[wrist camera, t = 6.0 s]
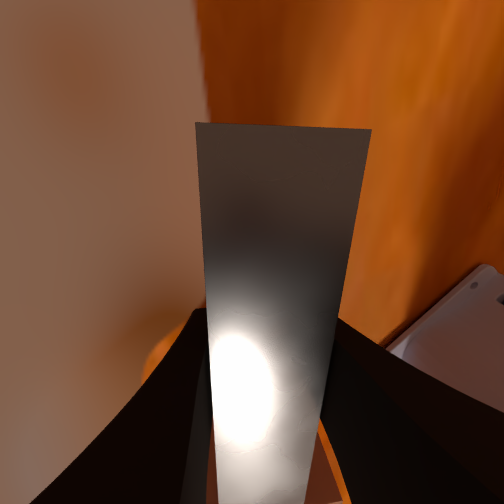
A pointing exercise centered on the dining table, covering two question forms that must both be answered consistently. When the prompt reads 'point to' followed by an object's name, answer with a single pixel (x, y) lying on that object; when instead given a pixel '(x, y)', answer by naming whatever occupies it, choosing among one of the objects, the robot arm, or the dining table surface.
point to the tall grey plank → (273, 292)
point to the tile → (319, 483)
